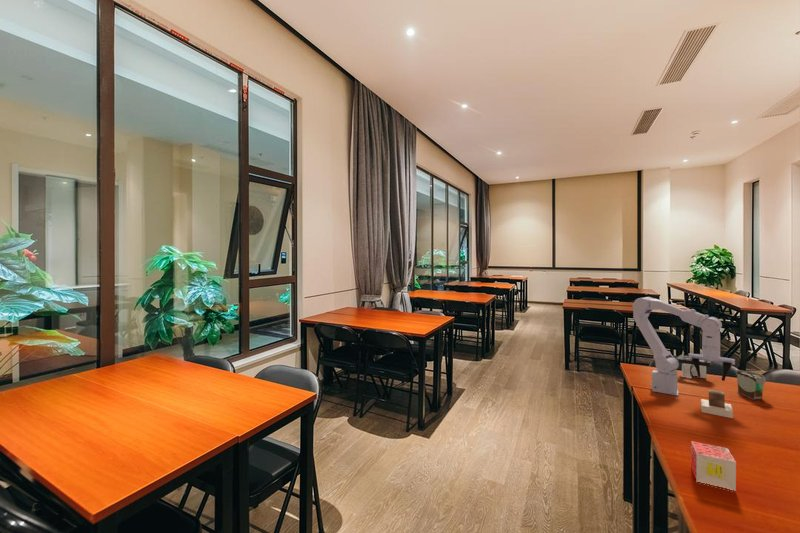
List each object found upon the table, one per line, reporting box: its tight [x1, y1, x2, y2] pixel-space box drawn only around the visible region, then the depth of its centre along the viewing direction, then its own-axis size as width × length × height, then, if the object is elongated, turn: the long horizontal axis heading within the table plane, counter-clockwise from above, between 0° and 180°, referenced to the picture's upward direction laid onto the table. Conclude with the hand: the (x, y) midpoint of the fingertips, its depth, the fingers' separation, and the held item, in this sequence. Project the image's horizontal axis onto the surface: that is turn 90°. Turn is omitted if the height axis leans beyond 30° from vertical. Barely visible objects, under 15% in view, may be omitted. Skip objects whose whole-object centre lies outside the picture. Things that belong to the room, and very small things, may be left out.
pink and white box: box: [690, 440, 737, 492], centre depth 96 cm, size 8×8×8 cm
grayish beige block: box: [708, 389, 726, 408], centre depth 139 cm, size 5×5×5 cm
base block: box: [700, 398, 734, 419], centre depth 139 cm, size 9×9×3 cm
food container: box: [735, 369, 767, 401], centre depth 154 cm, size 12×6×10 cm, turn 168°
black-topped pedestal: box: [676, 351, 713, 379], centre depth 179 cm, size 28×26×13 cm
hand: (710, 378), depth 147 cm, fingers open, 7 cm apart
